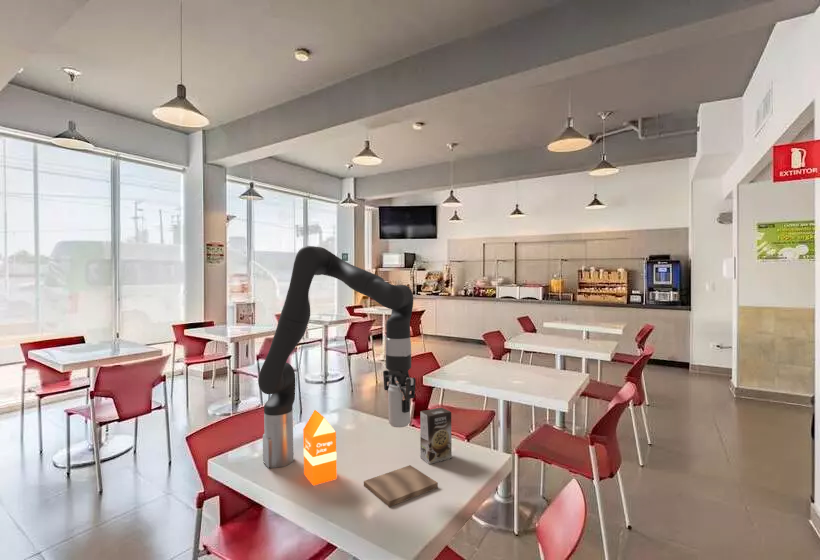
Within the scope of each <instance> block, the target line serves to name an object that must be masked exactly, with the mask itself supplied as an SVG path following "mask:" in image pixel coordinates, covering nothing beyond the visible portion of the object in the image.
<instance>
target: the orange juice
mask: <svg viewBox="0 0 820 560" xmlns="http://www.w3.org/2000/svg"><path fill="white" fill-rule="evenodd" d="M302 429H303V430H302V431H303V433H302V434H303V440H302V441H303V475H304V476H305V478H306V479H307V481H309V482H310V483H311V485H312V486H317V485H320V484H325V483H326V482H331V481H334V480H337V475H338V471H337V432H336V431H335V429H334V428H333V427H332V425H331V424H330V422H328V419H326V418H325V416H323V415H322V414H321V413H320V412H318V411H317V410H316V409H314V410H313V412H312V414H311V415H310V417H309V419H308V420H307V422H306V423H305V426H304V427H303V428H302Z"/></svg>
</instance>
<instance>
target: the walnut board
mask: <svg viewBox="0 0 820 560" xmlns="http://www.w3.org/2000/svg"><path fill="white" fill-rule="evenodd" d="M438 484H439V482H437V481H436V480H434V479H432V478H431V477H429V476H428V475H427V474H425V473H424V472H422V471H420V470H418V469H417V468H415V467H414V466H412V465H410V464H408V465H406V466H403V467H400V468H398V469H395V470H392V471H389V472H386V473H384V474H383V473H382V474H381V475H378V476H374V477H371V478H368V479H366V480H363V487H365V489H367V490H368V491H369V492H370V493H371V494H372V495H374V496H375V497H377V498H378V499H379V500H380V501H381V502H382V503H384V505H386V506H387V507H389V508H390V507H393V506H395V505H398V504H400V503H402V502H403V503H404V502H406V501H408V500H411V499H413V498H416V497H418V496H420V495H423V494H425V493H429V492H431V491H433V490H436V489H438V487H439V485H438Z"/></svg>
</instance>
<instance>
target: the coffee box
mask: <svg viewBox="0 0 820 560" xmlns="http://www.w3.org/2000/svg"><path fill="white" fill-rule="evenodd" d="M419 412H420V418H419V420H420V433H419V434H420V444H419V445H420V448H419V449H420V453H419V454H420V455H419V456H420V458H421V459H422V460H423V461H425V462H426V463H427V464H428V465H432V464H436V463H439V461H440V462H443V461H442V460H444V461H447V460H446V459H448V460H451V459H450V458H452V453H453V451H452V450H453V449H452V444H453V443H452V411H450V410H449V409H445V408H444V407H437V408H431V409H426V410H421V411H419Z"/></svg>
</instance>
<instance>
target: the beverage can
mask: <svg viewBox="0 0 820 560" xmlns="http://www.w3.org/2000/svg"><path fill="white" fill-rule="evenodd" d="M389 386H390V387H389V388H388V392H387V396H388V397H387V398H388V425H390V426H391V427H393V428H406V427H407V426H409V424H410V423H411V410H410V411H409V412H406V413H403V412H402V400H403V399H402V396H401V392H399V390H398V387H397V386H396V385H394V384H389ZM401 388H403V389H404V388H406V386H403V387H401ZM404 394H405V395H406V391H404Z"/></svg>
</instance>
